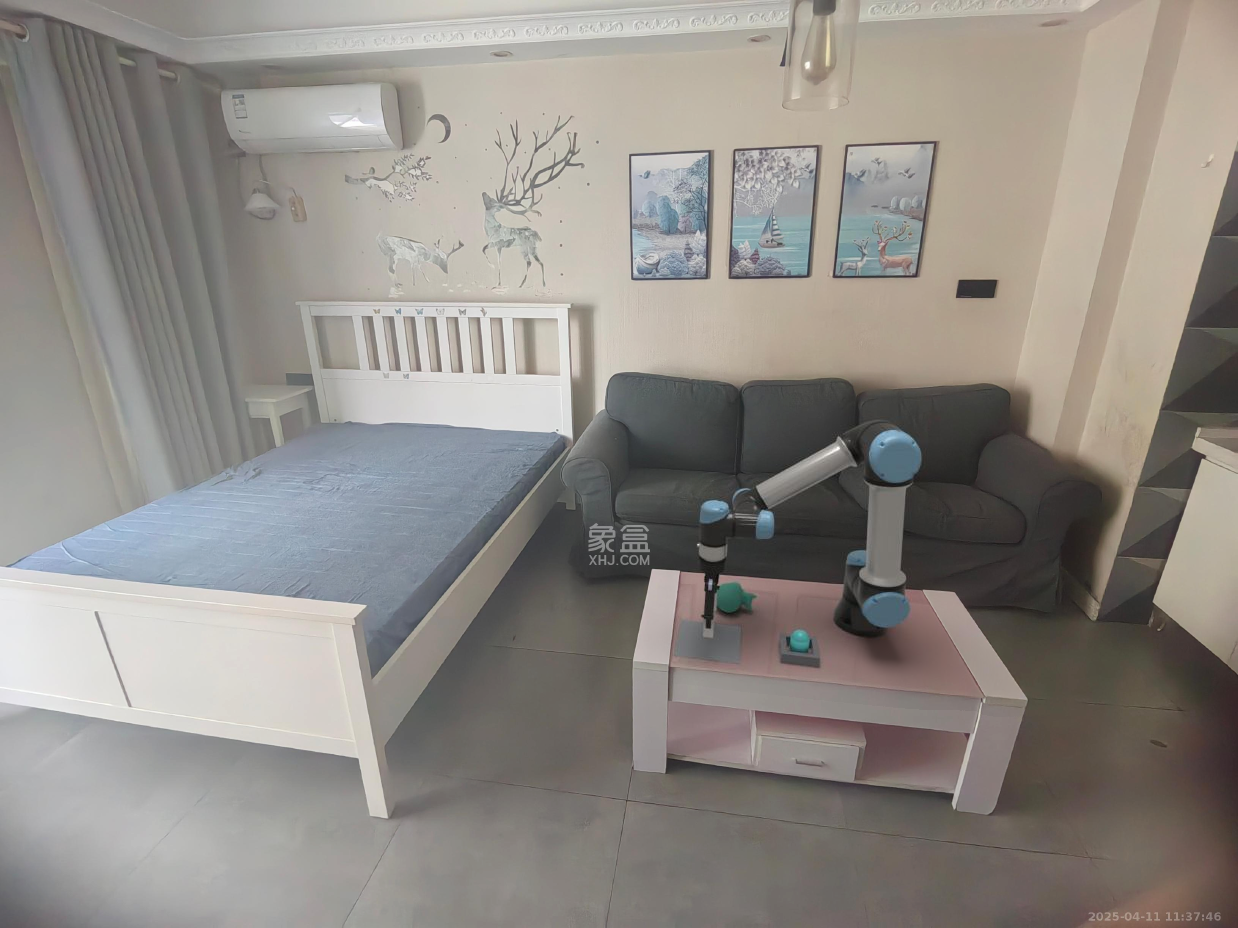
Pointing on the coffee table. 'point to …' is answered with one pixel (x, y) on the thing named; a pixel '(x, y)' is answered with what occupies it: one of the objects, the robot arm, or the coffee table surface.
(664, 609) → the coffee table surface
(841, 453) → the robot arm
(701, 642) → the mat
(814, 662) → the dome housing
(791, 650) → the dome
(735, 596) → the toy
